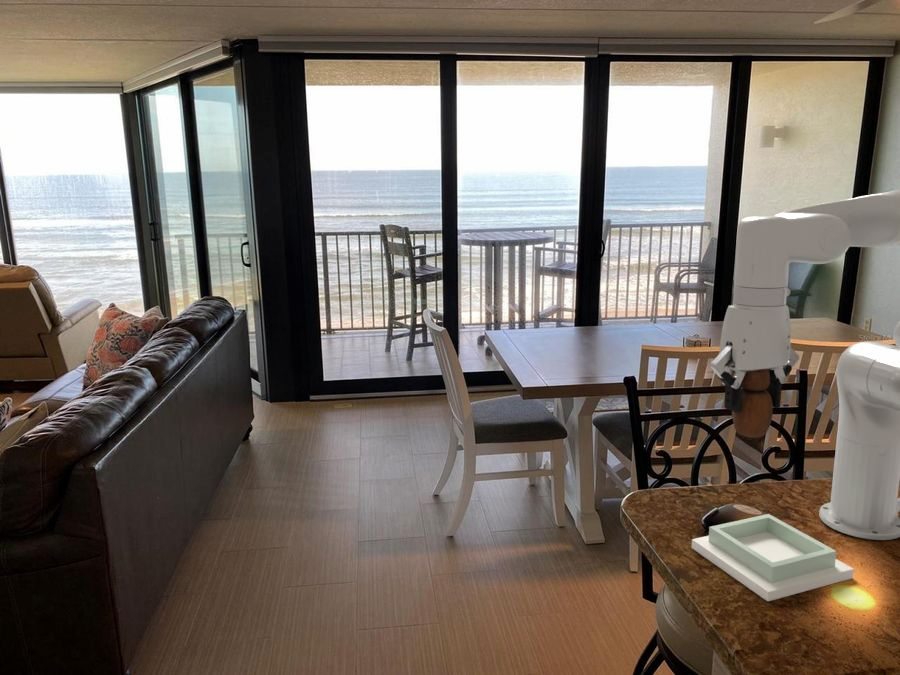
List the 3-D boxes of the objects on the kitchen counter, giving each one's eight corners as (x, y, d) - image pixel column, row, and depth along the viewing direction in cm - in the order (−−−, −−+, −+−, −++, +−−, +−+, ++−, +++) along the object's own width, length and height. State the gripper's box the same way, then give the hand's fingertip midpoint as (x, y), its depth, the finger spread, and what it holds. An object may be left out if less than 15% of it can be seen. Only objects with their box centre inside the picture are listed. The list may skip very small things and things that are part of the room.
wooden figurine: (773, 442, 105) (781, 348, 102) (734, 440, 106) (739, 347, 103) (765, 428, 111) (772, 339, 108) (728, 426, 113) (733, 338, 110)
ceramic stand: (769, 529, 115) (771, 508, 114) (853, 578, 100) (855, 553, 99) (691, 547, 109) (692, 525, 109) (767, 601, 95) (769, 575, 94)
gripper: (787, 290, 110) (779, 396, 114) (696, 297, 106) (690, 407, 109) (824, 296, 103) (814, 408, 107) (728, 304, 98) (721, 421, 102)
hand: (752, 407), depth 108 cm, fingers closed on wooden figurine, 6 cm apart
